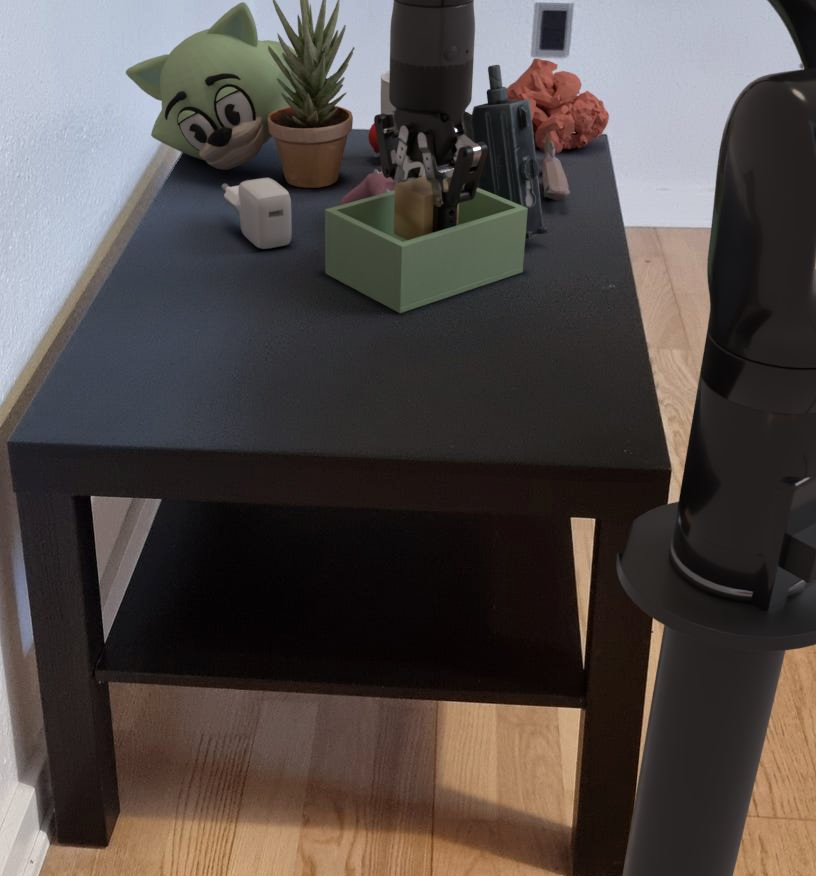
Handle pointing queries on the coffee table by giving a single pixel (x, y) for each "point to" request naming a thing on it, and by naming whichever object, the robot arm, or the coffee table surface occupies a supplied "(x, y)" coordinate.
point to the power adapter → (262, 211)
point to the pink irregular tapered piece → (370, 187)
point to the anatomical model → (559, 107)
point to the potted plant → (311, 101)
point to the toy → (217, 90)
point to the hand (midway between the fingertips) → (425, 232)
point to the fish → (553, 174)
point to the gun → (509, 151)
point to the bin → (423, 250)
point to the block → (414, 208)
